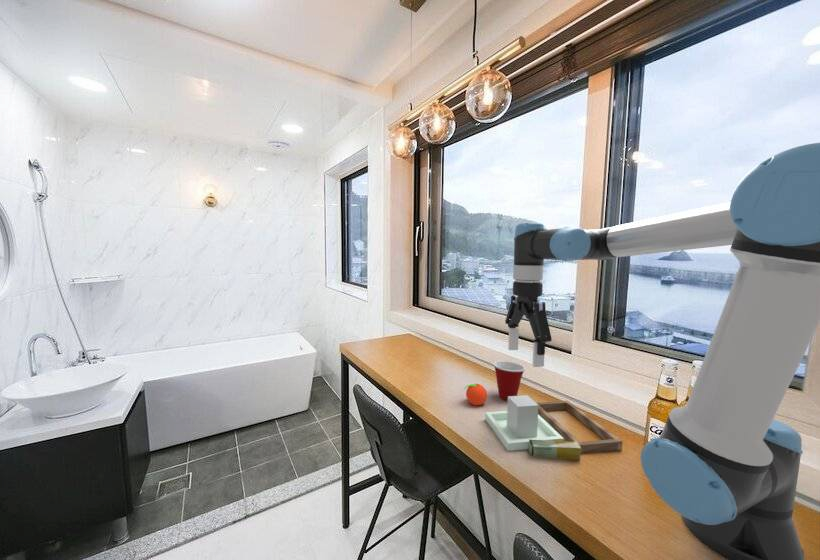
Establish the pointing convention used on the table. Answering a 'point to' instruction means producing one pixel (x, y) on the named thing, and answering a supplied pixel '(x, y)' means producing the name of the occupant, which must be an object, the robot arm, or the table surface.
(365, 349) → the table surface
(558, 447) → the medication box
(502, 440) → the tray
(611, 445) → the brown wooden frame
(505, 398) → the plastic cup
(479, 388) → the clementine
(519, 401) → the stone block
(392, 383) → the table surface
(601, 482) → the table surface
